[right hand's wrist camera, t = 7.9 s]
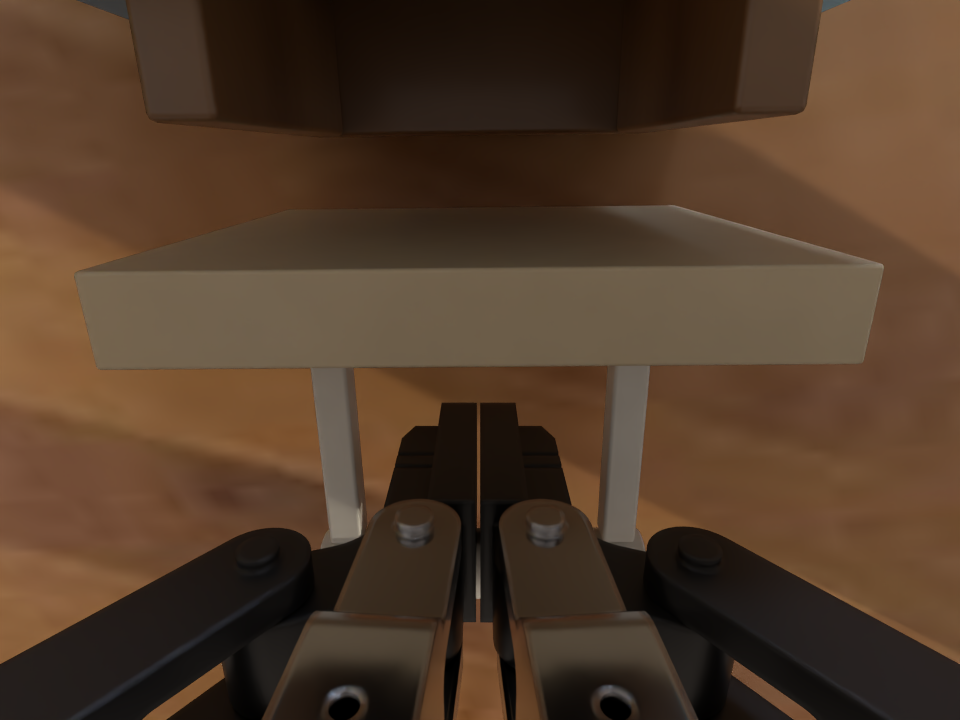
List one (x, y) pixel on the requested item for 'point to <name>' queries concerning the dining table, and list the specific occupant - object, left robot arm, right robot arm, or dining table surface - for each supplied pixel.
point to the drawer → (477, 211)
